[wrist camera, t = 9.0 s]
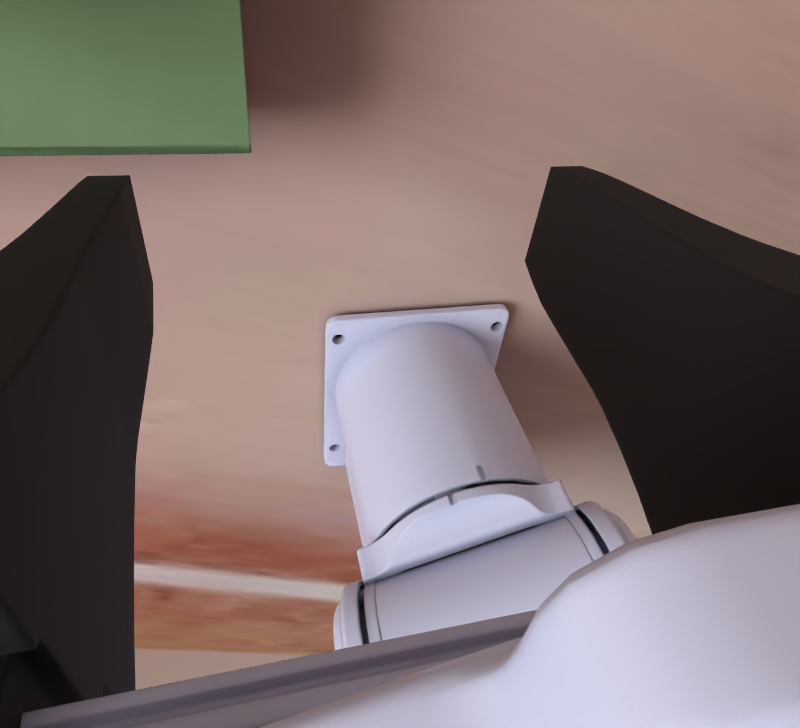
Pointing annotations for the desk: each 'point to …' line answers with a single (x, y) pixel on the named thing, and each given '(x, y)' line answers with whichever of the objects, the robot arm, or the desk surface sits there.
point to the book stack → (122, 77)
